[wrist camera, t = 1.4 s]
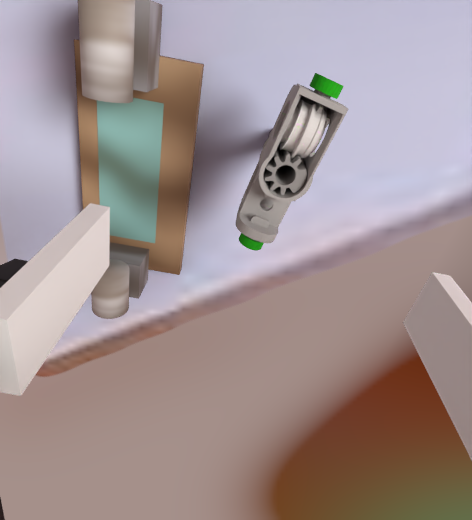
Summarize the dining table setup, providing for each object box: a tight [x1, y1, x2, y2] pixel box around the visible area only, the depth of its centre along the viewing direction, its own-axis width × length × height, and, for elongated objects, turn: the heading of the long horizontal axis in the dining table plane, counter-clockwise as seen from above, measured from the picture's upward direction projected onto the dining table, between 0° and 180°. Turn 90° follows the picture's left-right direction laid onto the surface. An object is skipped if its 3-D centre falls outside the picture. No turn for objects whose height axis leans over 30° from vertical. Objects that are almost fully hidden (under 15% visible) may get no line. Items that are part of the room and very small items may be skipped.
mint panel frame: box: [74, 0, 204, 319], centre depth 27 cm, size 23×9×7 cm, turn 170°
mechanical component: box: [236, 73, 348, 250], centre depth 24 cm, size 3×10×10 cm, turn 158°
